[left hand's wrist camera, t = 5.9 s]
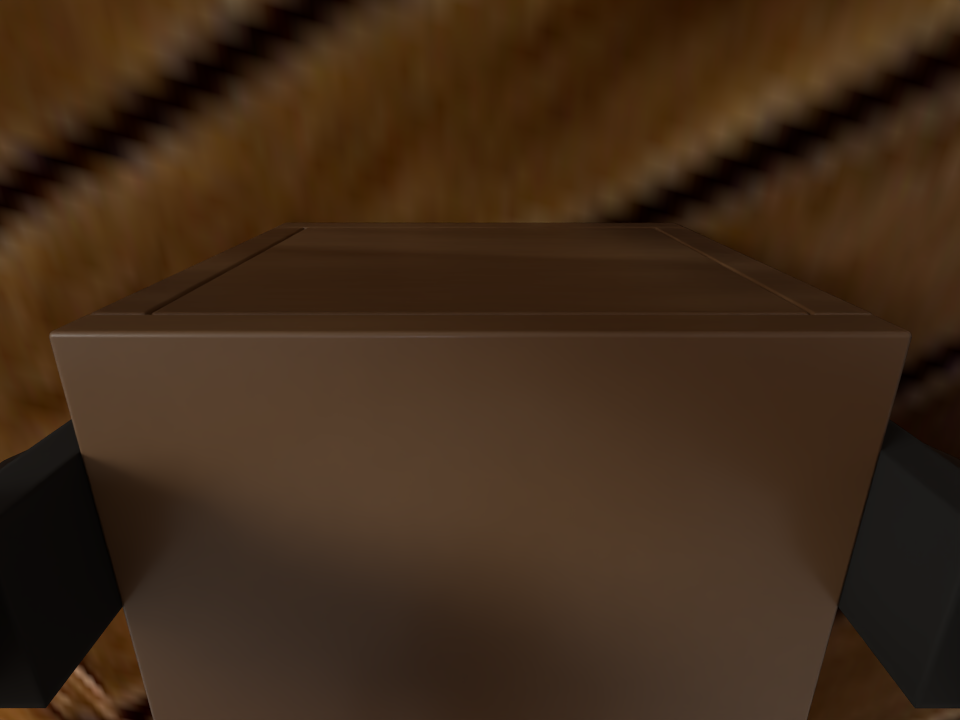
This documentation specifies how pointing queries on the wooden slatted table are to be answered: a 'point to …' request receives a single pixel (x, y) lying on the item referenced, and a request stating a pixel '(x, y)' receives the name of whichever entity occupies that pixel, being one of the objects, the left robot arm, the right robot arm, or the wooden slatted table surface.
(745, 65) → the wooden slatted table surface
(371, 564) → the tall brown box
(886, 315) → the wooden slatted table surface
